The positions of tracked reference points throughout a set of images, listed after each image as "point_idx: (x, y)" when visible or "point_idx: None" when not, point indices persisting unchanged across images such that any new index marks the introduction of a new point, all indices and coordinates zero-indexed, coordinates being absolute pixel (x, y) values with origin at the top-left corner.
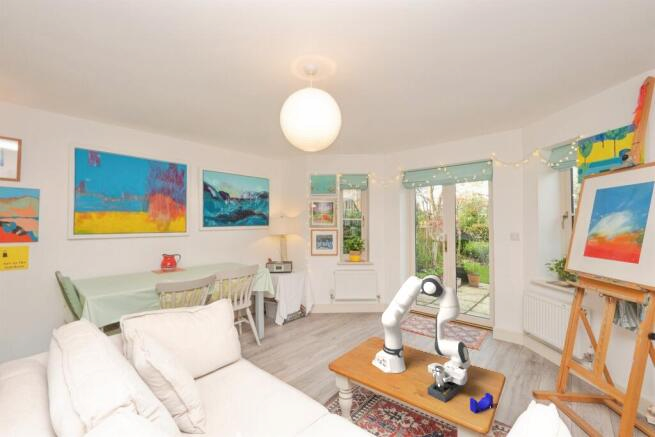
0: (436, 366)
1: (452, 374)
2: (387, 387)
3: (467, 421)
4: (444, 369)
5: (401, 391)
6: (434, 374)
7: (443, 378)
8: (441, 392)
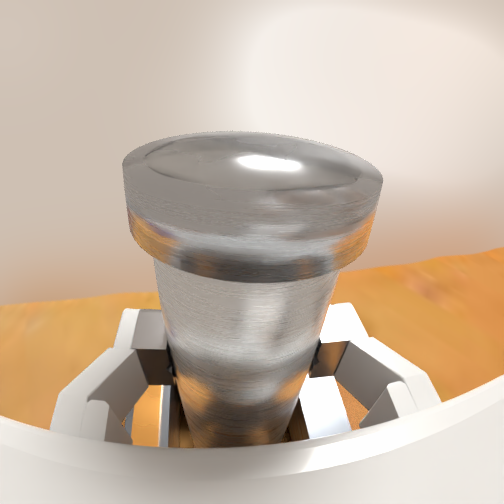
0: (346, 161)
1: (21, 471)
2: (437, 268)
3: (12, 309)
4: (124, 181)
5: (396, 286)
6: (339, 307)
7: (160, 311)
8: None
